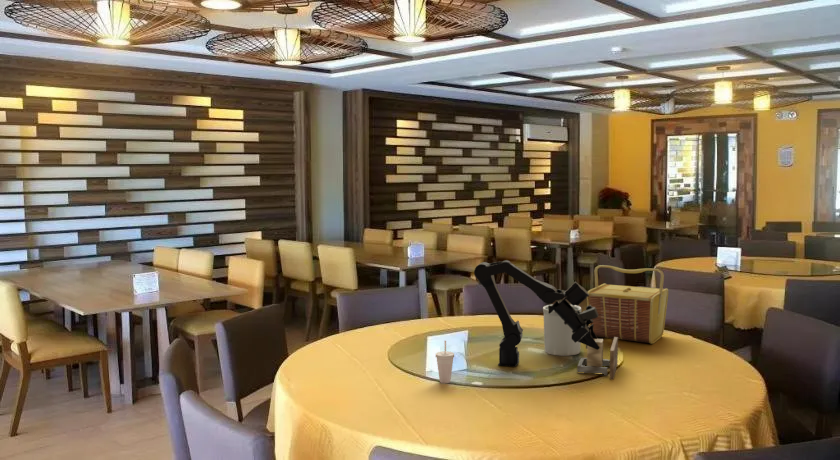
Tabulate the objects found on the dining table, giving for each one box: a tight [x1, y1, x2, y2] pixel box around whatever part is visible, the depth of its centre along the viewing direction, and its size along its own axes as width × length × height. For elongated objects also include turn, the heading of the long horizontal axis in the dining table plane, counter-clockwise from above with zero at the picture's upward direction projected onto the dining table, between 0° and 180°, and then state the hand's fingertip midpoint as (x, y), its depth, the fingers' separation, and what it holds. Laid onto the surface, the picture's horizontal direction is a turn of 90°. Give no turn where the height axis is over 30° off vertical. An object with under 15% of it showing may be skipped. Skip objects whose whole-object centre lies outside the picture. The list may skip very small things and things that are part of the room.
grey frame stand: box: [576, 337, 619, 380], centre depth 254 cm, size 13×20×10 cm, turn 161°
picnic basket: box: [586, 264, 669, 345], centre depth 301 cm, size 29×26×30 cm
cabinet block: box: [585, 338, 604, 367], centre depth 255 cm, size 6×5×9 cm
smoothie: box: [435, 340, 455, 384], centre depth 243 cm, size 6×6×14 cm
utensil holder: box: [542, 303, 582, 357], centre depth 280 cm, size 15×15×18 cm
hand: (599, 347), depth 254 cm, fingers closed on cabinet block, 5 cm apart
